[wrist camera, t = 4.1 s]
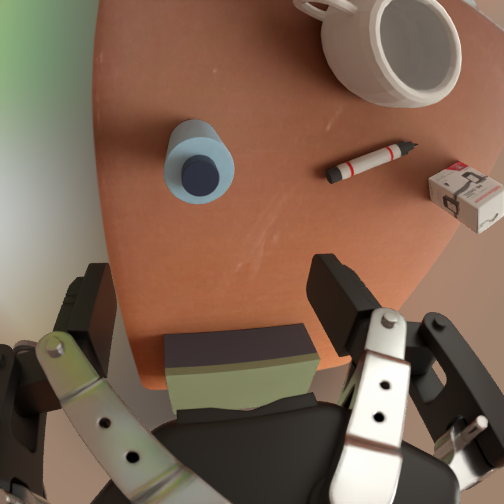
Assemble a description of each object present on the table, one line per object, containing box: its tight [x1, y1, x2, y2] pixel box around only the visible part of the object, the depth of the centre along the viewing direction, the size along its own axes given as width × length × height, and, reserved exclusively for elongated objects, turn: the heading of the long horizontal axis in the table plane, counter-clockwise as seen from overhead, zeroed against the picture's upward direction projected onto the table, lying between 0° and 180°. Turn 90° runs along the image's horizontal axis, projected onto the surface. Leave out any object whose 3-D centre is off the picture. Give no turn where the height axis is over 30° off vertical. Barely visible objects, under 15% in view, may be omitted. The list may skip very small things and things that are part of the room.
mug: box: [293, 0, 462, 108], centre depth 25 cm, size 21×17×10 cm
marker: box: [325, 142, 418, 184], centre depth 38 cm, size 15×2×2 cm, turn 110°
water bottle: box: [164, 119, 234, 204], centre depth 28 cm, size 6×6×14 cm
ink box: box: [428, 161, 504, 234], centre depth 39 cm, size 9×5×12 cm, turn 115°
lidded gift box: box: [164, 324, 320, 414], centre depth 50 cm, size 24×12×8 cm, turn 85°
